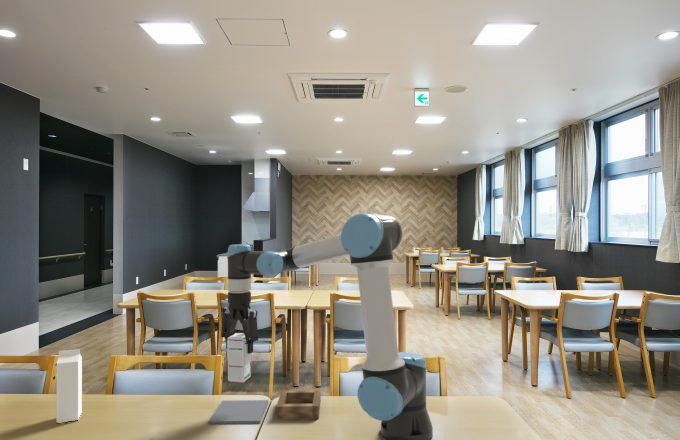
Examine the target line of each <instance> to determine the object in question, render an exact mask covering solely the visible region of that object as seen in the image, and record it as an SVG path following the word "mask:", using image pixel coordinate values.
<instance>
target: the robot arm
mask: <svg viewBox="0 0 680 440" xmlns="http://www.w3.org/2000/svg"><path fill="white" fill-rule="evenodd" d="M402 239H403V229H402V226H401V223H400V222H399V221H398V219H396V218H395V217H394V216H392V215H390V214H385V213H373V212H362V213H358V214H354V215H352V216H351V217H349V218H348V219H347V220H346V222H345V223H344V224H343V226H342V228H341V231H340V234H336V235H332V236H329V237H325V238H322V239H319V240H315V241H310V242H307V243H303V244H300V245H296V246H292V247H290V248H286V249H279V250H278V249H277V250H276V249H274V250H261V251H260V250H258V251H257V250H252V246H251V245H250V244H245V243H243V244H230V245H228V248H227V258H226V259H227V291H228V293H227V303H228V304H229V305H228V306H225V307H222V308H221V313H222V317H221V318H222V320H221V328H220V329H221V330H220V331H221V332H220V337H221V338H224V340H225V349H226V358H227V359H226V360H227V361H228V337H230V336H232V335H234V334H235V330H236V326H237V323H238V321H239V323H240V324H241V326H242V329H243V330H242V331H243V333H244V335H245V339H246V343H245V344H244V364H248V363H250V362H251V363H252V361H253V359H252V358H253V355H252V353H254V343H255V342H258V341H259V332H258V331H259V330H258V310H256V309H254V310H253V309H251V306H250V305H251V301H252V292H251V289H252V275H260V276H266V277H269V276H271V277H272V276H277V275H279V273H284V272H293V271H298V270H300V269H303V268H307V267H310V266H314V265H319V264H322V263H327V262H330V261H334V260H339V259H342V258H347V257H350V258H349V259H350V260H349V261H350V265H351V266H352V267H353V268H354V269H356V273H357V281H358V289H359V298H360V308H361V316H362V317H361V318H362V325H363V336H364V345H365V354H366V359H365V361H363V363H362V364H361V369H362V370H361V371H362V378H363V379H362V380H361V382H360V383H359V386H358V387H357V399H358V403H359V404H360V407H361V408H362V410H363V411H364V412H366V414H367V415H368V416H369V417H370V418H372V419H374V420H377V421H380V434H381V436H382V437H383V438H384V439H385V440H431V439H432V438H433V437H434V435H433V432H434V429H433V428H434V427H433V424H432V421H431V418H430V415H429V413H428V412H429V411H428V409H427V366H426V365H427V363H426V359H425V358H424V356H422V355H420V354H418V353H412V352H406V351H405V352H404V351H399V349H398V338H397V332H396V331H397V330H396V322H395V313H394V312H395V311H394V304H393V303H394V302H393V297H392V294H393V293H392V288H391V277H390V271H389V268H390V265H391V263H393V262H394V256H393V255H394V253H393V251H395V249H397V248H398V247H399V245H400V244H401V242H402Z"/></svg>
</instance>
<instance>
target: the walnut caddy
mask: <svg viewBox="0 0 680 440" xmlns="http://www.w3.org/2000/svg"><path fill="white" fill-rule="evenodd" d="M321 394H322V393H321V389H311V390H310V389H308V390H307V389H304V390H303V389H302V390H300V389H299V390H294V389H293V390H291V389H290V390H287V389H285V390H283V389H282V390H281V392H280V394H279V397H278V400H277V403H276V406H275V419H276V420H318V419H319V418H320V410H321V403H322V402H321V397H322V395H321Z"/></svg>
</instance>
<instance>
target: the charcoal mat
mask: <svg viewBox="0 0 680 440" xmlns="http://www.w3.org/2000/svg"><path fill="white" fill-rule="evenodd" d="M268 404H269V400H268V399H263V400H262V399H261V400H257V399H256V400H255V399H254V400H253V399H252V400H247V399H246V400H245V399H244V400H238V399H237V400H222V401H221V402H220V404H219V405H218V407H217V408H216V410H215V411H214V413H213V414H212V415H211V417H210V418H209V420H208V424H209V425H213V424H214V425H219V424H220V425H223V424H227V425H228V424H229V425H231V424H232V425H233V424H234V425H235V424H237V425H238V424H261V422H262V420H263V418H264V417H263V416H264V415H265V412H266V409H267V406H268Z"/></svg>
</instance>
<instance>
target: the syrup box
mask: <svg viewBox="0 0 680 440" xmlns="http://www.w3.org/2000/svg"><path fill="white" fill-rule="evenodd" d="M245 343H246V339H245V335H244V332H234V334H233V335H232V336H230V337H228V360H227V381H228V382H231V383H245V382H246V381H247V380H248V379H249V378H251V377H252V362H250V363H248V364H244V344H245Z"/></svg>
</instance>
